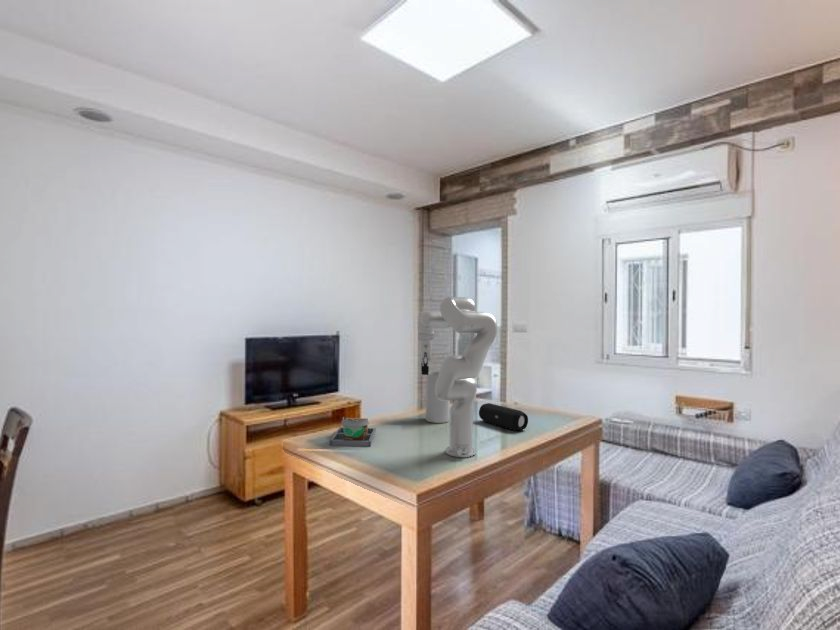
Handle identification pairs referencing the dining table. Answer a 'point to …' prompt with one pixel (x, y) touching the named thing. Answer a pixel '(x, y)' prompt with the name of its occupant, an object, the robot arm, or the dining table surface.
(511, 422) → the portable speaker
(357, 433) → the food container
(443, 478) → the dining table surface
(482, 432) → the dining table surface
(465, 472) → the dining table surface
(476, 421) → the dining table surface
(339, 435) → the tray
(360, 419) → the tan rectangular block
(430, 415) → the cylinder vase
